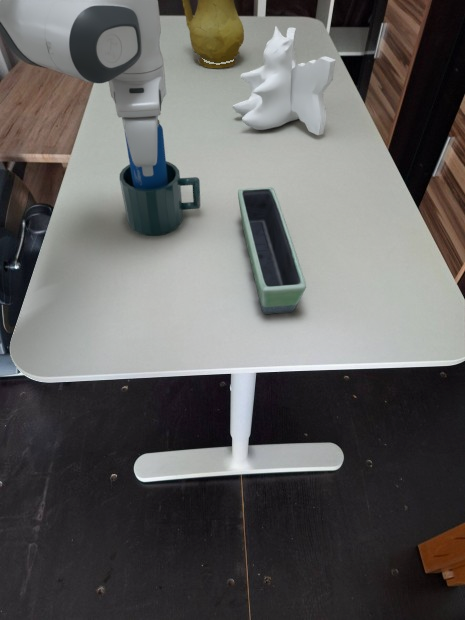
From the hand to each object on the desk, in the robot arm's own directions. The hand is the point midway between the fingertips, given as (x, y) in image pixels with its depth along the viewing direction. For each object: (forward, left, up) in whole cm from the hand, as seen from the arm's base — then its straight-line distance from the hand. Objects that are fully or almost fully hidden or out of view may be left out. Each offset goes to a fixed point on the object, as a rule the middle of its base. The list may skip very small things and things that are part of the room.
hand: (147, 162), depth 81 cm
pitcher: (+23, +85, -13) cm, 89 cm away
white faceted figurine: (+33, +39, -13) cm, 53 cm away
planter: (+20, -16, -13) cm, 28 cm away
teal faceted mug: (+2, 0, -12) cm, 13 cm away
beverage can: (0, 0, -5) cm, 5 cm away
